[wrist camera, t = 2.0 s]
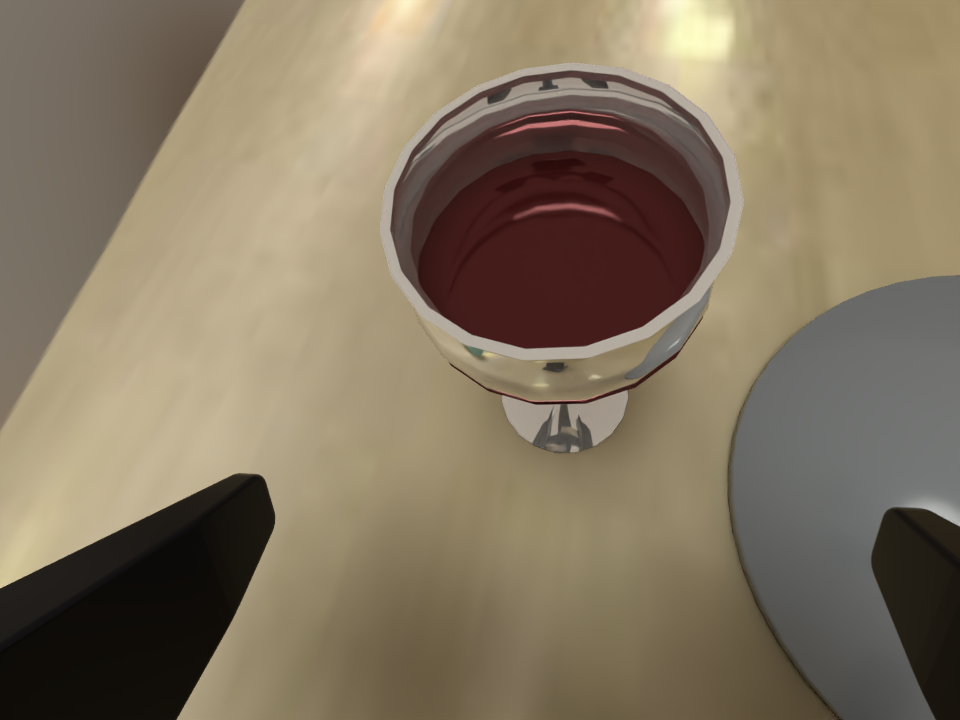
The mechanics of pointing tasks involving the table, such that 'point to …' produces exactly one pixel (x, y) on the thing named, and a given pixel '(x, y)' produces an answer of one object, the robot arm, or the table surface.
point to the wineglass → (562, 239)
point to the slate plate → (848, 482)
